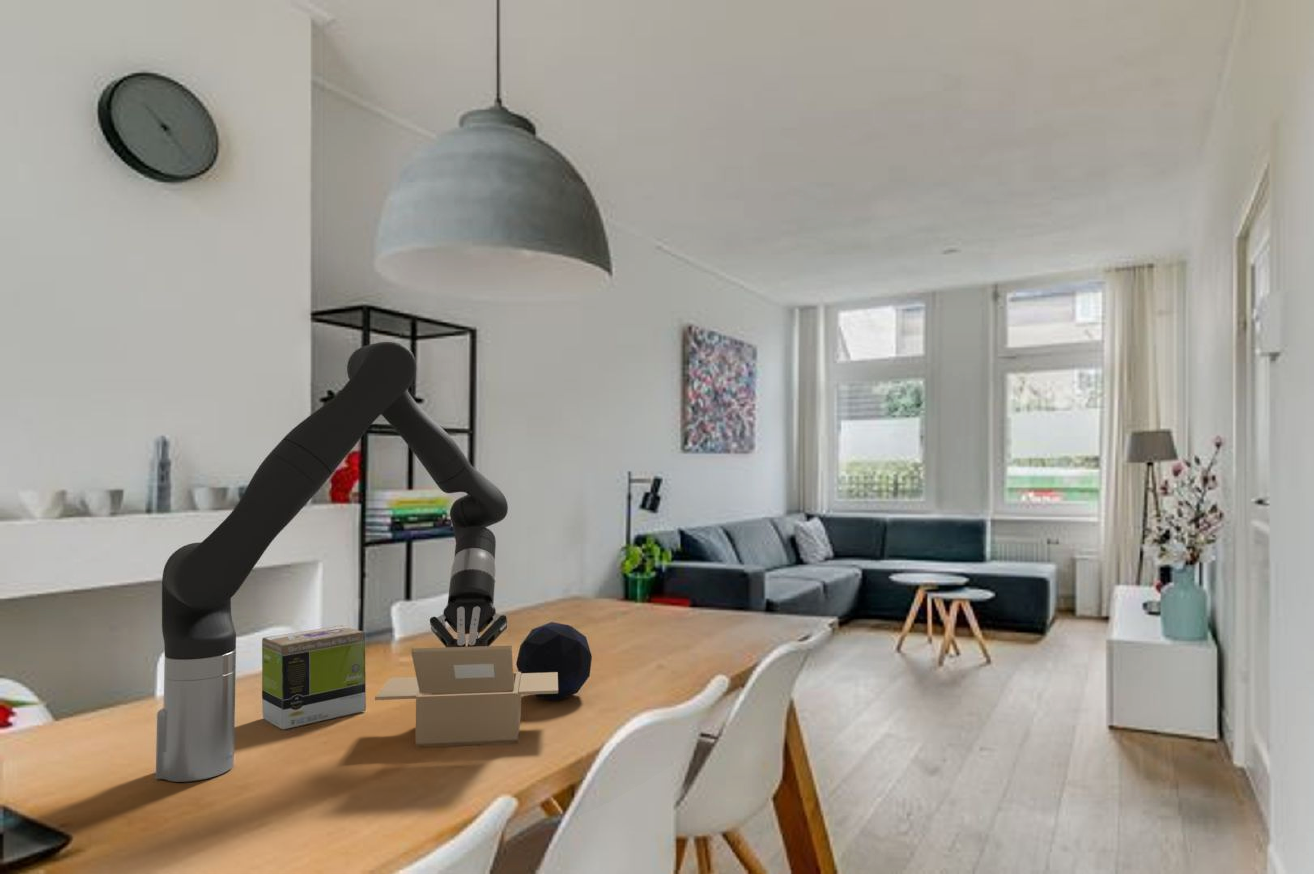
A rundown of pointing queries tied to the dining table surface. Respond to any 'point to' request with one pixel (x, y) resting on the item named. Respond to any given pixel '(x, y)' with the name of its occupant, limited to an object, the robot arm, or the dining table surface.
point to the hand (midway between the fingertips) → (464, 670)
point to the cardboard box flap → (463, 669)
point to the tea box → (313, 676)
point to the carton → (469, 710)
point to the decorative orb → (556, 657)
